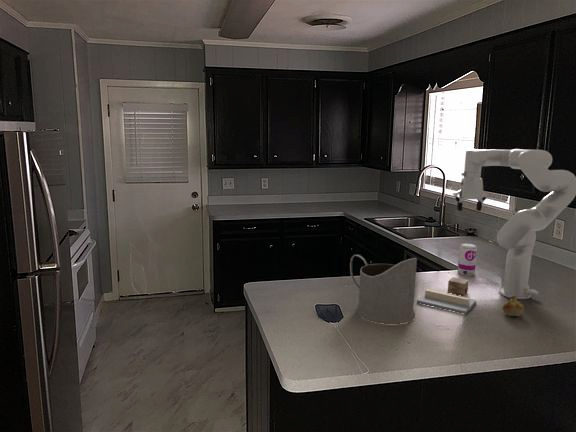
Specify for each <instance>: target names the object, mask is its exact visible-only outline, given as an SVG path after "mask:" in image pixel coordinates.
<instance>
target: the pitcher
mask: <svg viewBox="0 0 576 432" xmlns="http://www.w3.org/2000/svg"><path fill="white" fill-rule="evenodd" d="M355 257H358V258H360V260H362V261H363V262H364V264H365V265H364V266H362V267H361V268H360V271H359V284H358V283H357V281H356V278H355V277H354V274H353V260H354V258H355ZM417 261H418V259H417V258H416V257H412V258H408V259H405V260H402V261H400V262H398V263H397V264H391V263H371V264H368V262H367V260H366V259H365V258H364V257H363V256H362V255H361V254H353V255H352V256H351V258H350V263H349V273H350V277H351V279H352V282H353V283H354V285H355V286H356V287H357V289H358V290H359V291H358V304H357V306H356V308H357V309H356V308H355V311H356V312H357V314H358V315H359V316H360V317H362V318H364V319H366V320H369V321H373V322H377V323H384V324H400V323H406V322H409V321H412V320H413V319H414V318H415V319H416V317H415V315H416V313H415V309H414V302H415V301H414V299H415V292H416V291H415V288H416V277H417V276H416V275H417V263H418V262H417ZM356 312H355V313H356ZM357 314H356V315H357ZM358 315H357V316H358ZM359 316H358V317H359ZM360 317H359V318H360ZM366 320H365V321H366Z"/></svg>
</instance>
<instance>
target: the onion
mask: <svg viewBox="0 0 576 432" xmlns="http://www.w3.org/2000/svg"><path fill="white" fill-rule="evenodd" d="M524 311H525V306H524V305H523V303H521V302H520V301H518V299H516V296H511V297H510V298H509V300H508V301H507V302H506V303H504V304H503V306H502V312H503V313H504V314H506V315H507V316H509V317H511V316H517V317H519V316H522V315H523V313H524Z"/></svg>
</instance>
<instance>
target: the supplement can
mask: <svg viewBox="0 0 576 432" xmlns="http://www.w3.org/2000/svg"><path fill="white" fill-rule="evenodd" d="M477 254H478V248H477V245H476V244H472V243H469V242H466V243H461V244H460V246H459V251H458V263H457V273H458V274H459V275H461V276H466V277H471V276H474V275H475V274H476V266H477Z"/></svg>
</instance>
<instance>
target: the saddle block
mask: <svg viewBox="0 0 576 432" xmlns="http://www.w3.org/2000/svg"><path fill="white" fill-rule="evenodd" d="M469 282H470V280H469V279H465V278H460V277H455V276H452V277H451V278H450V279H448V283H447V291H446V292H447V294H448V293H452V295H453V294H456V296H457V295H461V297H462V296H464V297H465V294H466V293H467V292H468V289H469ZM467 294H468V293H467Z"/></svg>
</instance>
